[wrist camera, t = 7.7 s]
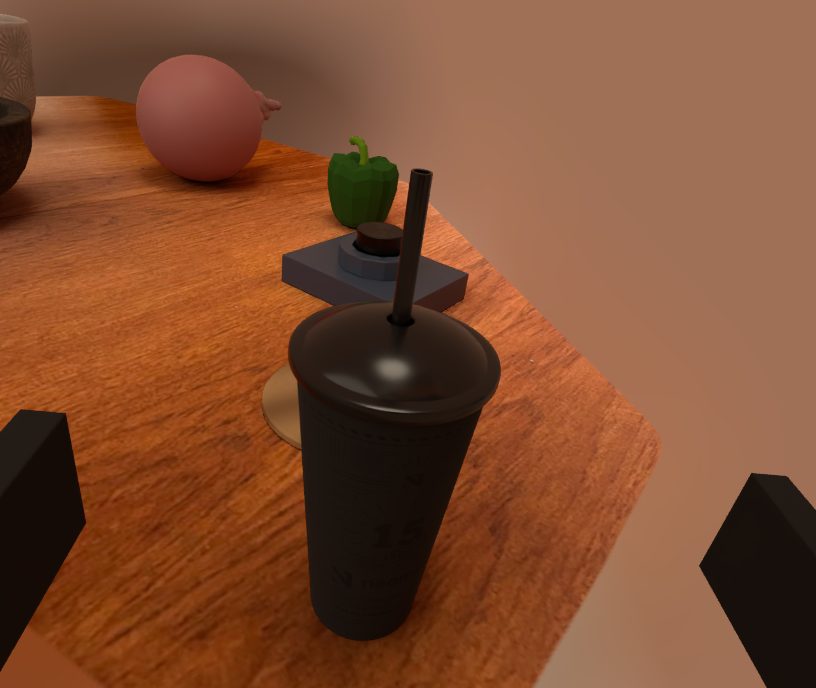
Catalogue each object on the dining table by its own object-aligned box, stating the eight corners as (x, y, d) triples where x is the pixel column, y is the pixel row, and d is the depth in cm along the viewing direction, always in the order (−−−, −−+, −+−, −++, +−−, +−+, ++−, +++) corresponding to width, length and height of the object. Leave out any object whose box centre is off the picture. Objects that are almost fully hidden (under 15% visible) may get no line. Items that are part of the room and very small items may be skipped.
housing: (464, 298, 58) (472, 256, 56) (399, 335, 50) (406, 288, 48) (355, 254, 65) (358, 214, 62) (281, 281, 56) (282, 236, 54)
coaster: (469, 435, 40) (471, 429, 39) (300, 482, 34) (300, 476, 34) (386, 347, 48) (387, 341, 48) (239, 372, 42) (239, 366, 42)
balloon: (310, 188, 84) (316, 70, 76) (171, 201, 71) (162, 62, 64) (255, 159, 93) (256, 52, 86) (123, 167, 81) (110, 42, 73)
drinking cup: (255, 562, 29) (257, 139, 19) (389, 513, 33) (450, 141, 23) (321, 706, 23) (373, 221, 13) (472, 626, 27) (599, 205, 17)
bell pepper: (401, 234, 72) (412, 151, 67) (335, 234, 69) (341, 147, 64) (379, 212, 79) (388, 134, 74) (318, 211, 76) (323, 130, 71)
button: (411, 252, 56) (414, 232, 55) (383, 264, 53) (385, 242, 52) (374, 238, 58) (376, 218, 57) (345, 248, 55) (347, 227, 54)
